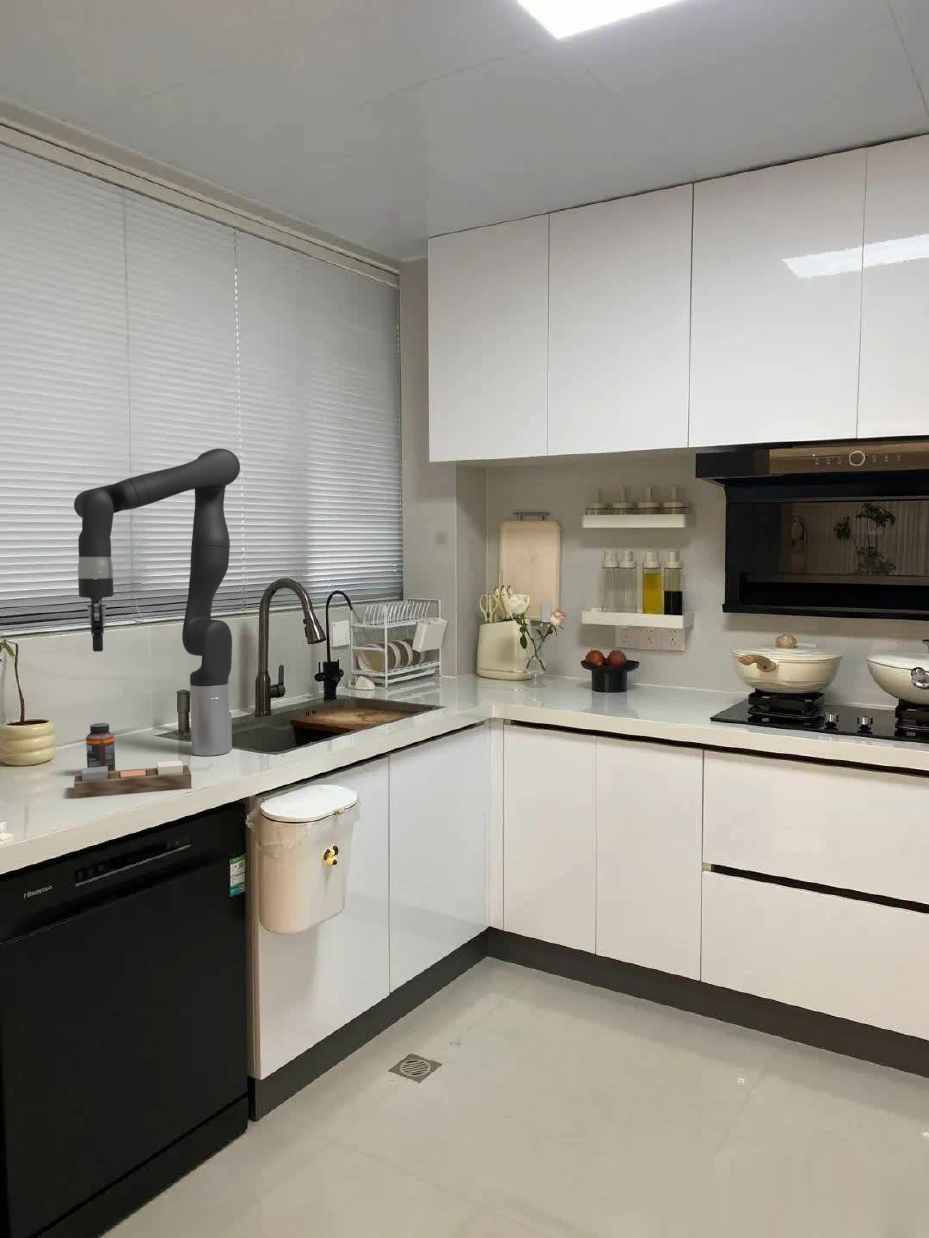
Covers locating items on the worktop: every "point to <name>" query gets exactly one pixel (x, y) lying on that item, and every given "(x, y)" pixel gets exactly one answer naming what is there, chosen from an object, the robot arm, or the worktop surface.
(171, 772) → the cream key
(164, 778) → the key console
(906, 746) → the worktop surface
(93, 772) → the slate key
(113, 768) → the supplement bottle
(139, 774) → the terracotta key
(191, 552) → the robot arm
